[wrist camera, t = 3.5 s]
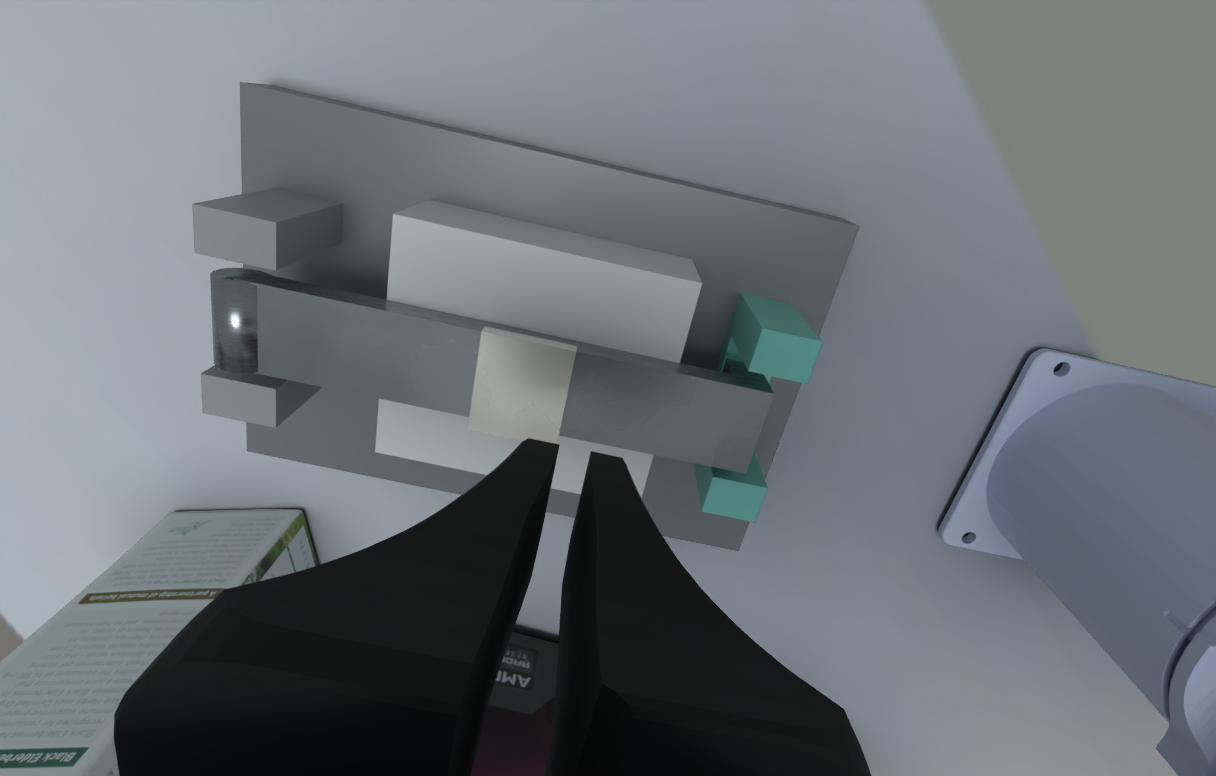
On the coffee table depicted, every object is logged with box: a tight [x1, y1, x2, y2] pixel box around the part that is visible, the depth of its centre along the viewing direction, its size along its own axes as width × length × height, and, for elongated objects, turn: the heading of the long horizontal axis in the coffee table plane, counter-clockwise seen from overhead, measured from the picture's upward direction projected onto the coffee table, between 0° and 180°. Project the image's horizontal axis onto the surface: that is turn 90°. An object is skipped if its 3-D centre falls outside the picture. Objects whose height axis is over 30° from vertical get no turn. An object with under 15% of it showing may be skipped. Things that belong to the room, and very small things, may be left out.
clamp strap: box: [210, 268, 774, 474], centre depth 17 cm, size 15×3×2 cm, turn 78°
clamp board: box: [192, 82, 859, 551], centre depth 19 cm, size 18×12×5 cm, turn 78°
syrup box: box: [0, 509, 318, 776], centre depth 19 cm, size 6×6×14 cm
